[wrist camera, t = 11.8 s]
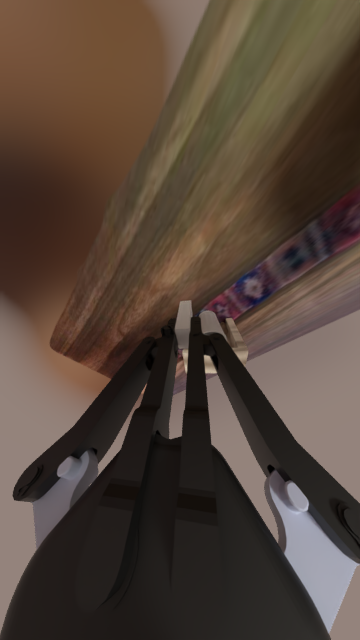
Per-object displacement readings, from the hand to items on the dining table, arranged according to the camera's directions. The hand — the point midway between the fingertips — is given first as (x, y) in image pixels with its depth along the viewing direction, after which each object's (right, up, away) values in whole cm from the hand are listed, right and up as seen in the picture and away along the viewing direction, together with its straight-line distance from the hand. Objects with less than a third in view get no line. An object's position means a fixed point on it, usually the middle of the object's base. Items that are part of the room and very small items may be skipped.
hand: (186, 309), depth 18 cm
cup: (+8, -1, +26) cm, 27 cm away
